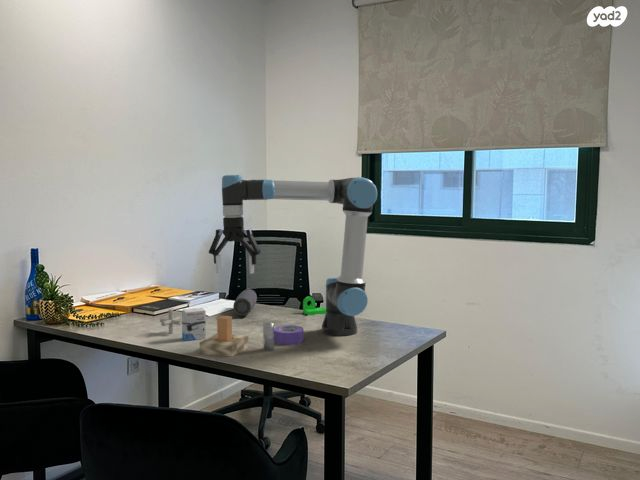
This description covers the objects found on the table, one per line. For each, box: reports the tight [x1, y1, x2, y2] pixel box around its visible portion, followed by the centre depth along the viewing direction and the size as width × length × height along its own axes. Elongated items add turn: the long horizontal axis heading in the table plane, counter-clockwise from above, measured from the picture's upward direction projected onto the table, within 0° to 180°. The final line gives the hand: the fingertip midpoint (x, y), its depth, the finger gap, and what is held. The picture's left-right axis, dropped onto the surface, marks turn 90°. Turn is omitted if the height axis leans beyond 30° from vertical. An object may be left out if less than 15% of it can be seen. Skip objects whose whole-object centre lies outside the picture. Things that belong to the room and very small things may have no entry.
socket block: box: [199, 333, 249, 357], centre depth 216 cm, size 13×14×4 cm
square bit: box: [216, 315, 233, 342], centre depth 216 cm, size 4×4×12 cm
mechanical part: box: [302, 296, 326, 316], centre depth 278 cm, size 12×6×8 cm, turn 115°
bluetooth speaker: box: [232, 288, 258, 316], centre depth 277 cm, size 23×9×10 cm, turn 179°
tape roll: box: [274, 324, 305, 346], centre depth 229 cm, size 12×12×5 cm
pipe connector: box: [159, 308, 182, 335], centre depth 238 cm, size 10×10×10 cm
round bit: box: [262, 321, 275, 352], centre depth 217 cm, size 4×4×10 cm
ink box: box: [181, 307, 207, 342], centre depth 231 cm, size 8×5×12 cm, turn 117°
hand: (235, 272), depth 218 cm, fingers open, 13 cm apart
